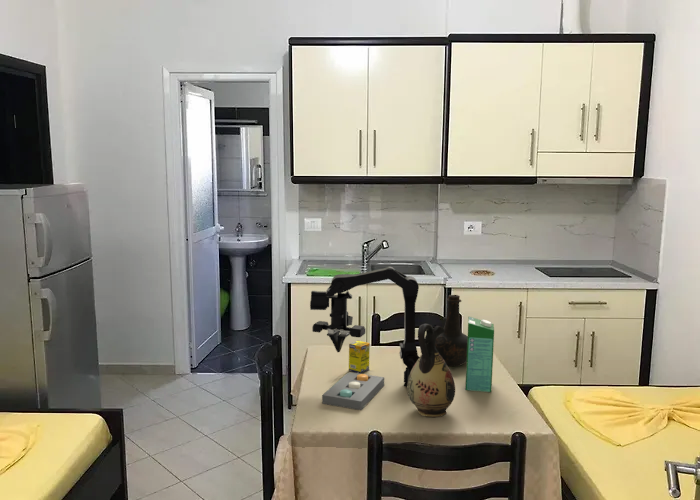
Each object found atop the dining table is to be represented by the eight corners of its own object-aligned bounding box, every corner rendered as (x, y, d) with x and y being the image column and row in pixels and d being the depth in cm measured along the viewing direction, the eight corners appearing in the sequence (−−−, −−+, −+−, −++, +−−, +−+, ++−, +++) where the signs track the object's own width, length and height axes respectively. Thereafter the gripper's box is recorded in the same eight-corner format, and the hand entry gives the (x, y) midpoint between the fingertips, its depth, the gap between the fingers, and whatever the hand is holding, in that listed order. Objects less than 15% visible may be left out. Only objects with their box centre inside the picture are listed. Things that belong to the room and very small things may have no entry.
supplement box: (360, 374, 230) (361, 346, 229) (348, 370, 234) (348, 343, 232) (369, 369, 235) (370, 342, 233) (357, 366, 238) (357, 340, 237)
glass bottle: (419, 361, 245) (421, 294, 241) (447, 352, 257) (449, 288, 253) (454, 373, 232) (456, 302, 228) (481, 363, 244) (484, 295, 240)
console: (384, 385, 219) (384, 377, 219) (361, 410, 197) (361, 401, 197) (348, 379, 224) (348, 371, 224) (322, 403, 202) (322, 395, 202)
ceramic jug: (423, 398, 207) (425, 314, 203) (462, 410, 198) (466, 322, 193) (394, 414, 194) (396, 324, 190) (435, 428, 185) (438, 333, 180)
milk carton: (491, 392, 213) (494, 324, 210) (465, 390, 215) (468, 322, 211) (490, 383, 222) (493, 317, 218) (465, 381, 224) (468, 315, 220)
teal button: (353, 400, 204) (353, 390, 204) (349, 404, 201) (349, 394, 200) (342, 398, 206) (342, 388, 205) (338, 402, 202) (338, 392, 202)
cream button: (361, 391, 212) (361, 382, 211) (357, 395, 208) (357, 386, 208) (351, 390, 213) (351, 380, 213) (347, 394, 209) (347, 384, 209)
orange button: (369, 384, 219) (369, 375, 219) (365, 387, 215) (365, 378, 215) (359, 382, 221) (359, 373, 220) (355, 386, 217) (355, 377, 216)
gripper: (370, 307, 220) (370, 348, 223) (324, 302, 227) (324, 342, 229) (360, 314, 210) (359, 357, 212) (311, 309, 217) (311, 351, 219)
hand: (338, 351), depth 219 cm, fingers closed
